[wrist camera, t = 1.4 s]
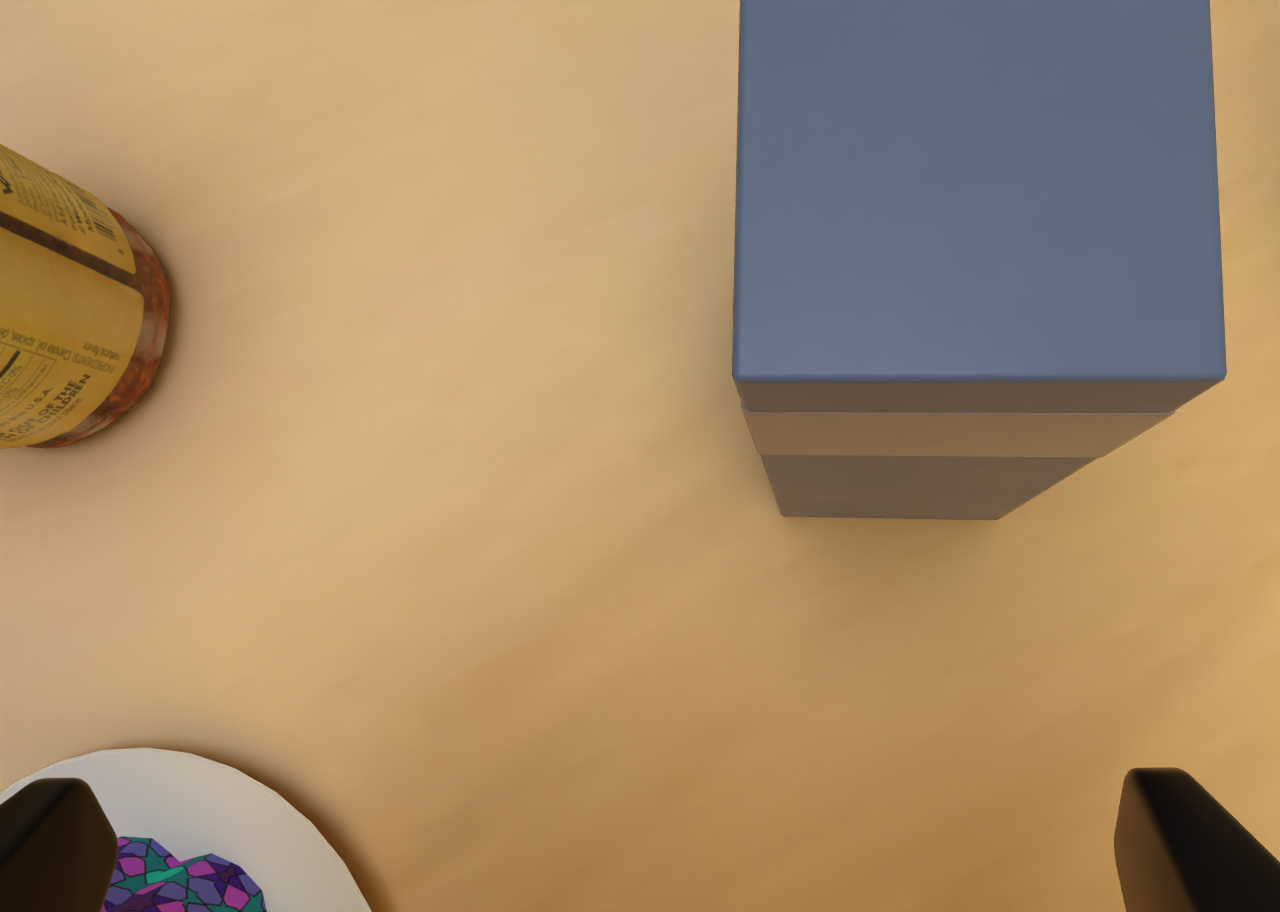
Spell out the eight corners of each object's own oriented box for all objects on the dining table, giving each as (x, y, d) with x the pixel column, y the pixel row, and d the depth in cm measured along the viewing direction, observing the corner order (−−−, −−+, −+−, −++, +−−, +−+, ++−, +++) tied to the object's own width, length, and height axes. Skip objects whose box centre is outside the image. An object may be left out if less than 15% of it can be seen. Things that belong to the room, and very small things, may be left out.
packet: (1000, 521, 23) (1233, 383, 10) (779, 517, 23) (728, 384, 11) (997, 234, 23) (1204, -233, 11) (783, 239, 24) (741, -195, 11)
